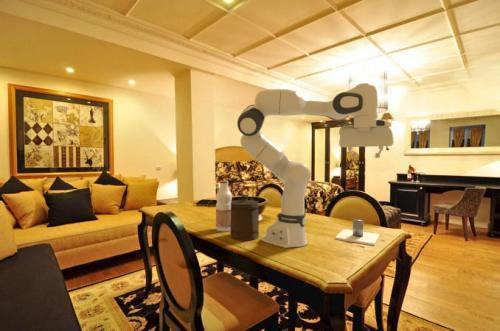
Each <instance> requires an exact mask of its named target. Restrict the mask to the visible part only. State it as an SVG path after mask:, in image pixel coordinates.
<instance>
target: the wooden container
mask: <svg viewBox="0 0 500 331" xmlns="http://www.w3.org/2000/svg"><path fill="white" fill-rule="evenodd" d="M248 198H249V196H248V195H247V194H242V195H241V199H238V200H231V219H230V232H229V233H230V238H231V239H233V240H235V241H242V242H243V241H246V242H247V241H254V240H256V239H258V238H259V237H260V236H259V234H260V233H259V232H260V231H259V230H260V222H259V217H260V216H259V201H257V200H253V199H248Z"/></svg>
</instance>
